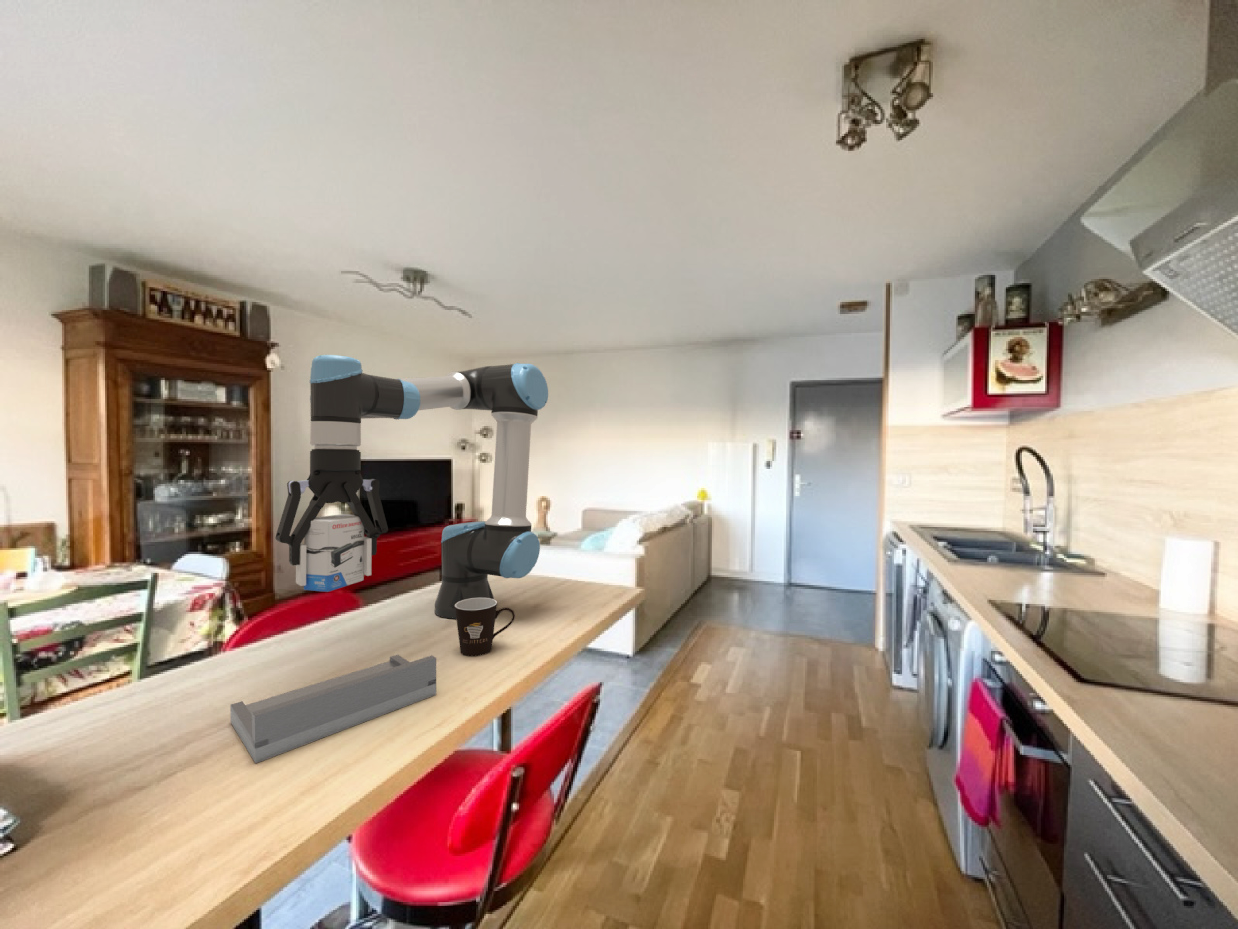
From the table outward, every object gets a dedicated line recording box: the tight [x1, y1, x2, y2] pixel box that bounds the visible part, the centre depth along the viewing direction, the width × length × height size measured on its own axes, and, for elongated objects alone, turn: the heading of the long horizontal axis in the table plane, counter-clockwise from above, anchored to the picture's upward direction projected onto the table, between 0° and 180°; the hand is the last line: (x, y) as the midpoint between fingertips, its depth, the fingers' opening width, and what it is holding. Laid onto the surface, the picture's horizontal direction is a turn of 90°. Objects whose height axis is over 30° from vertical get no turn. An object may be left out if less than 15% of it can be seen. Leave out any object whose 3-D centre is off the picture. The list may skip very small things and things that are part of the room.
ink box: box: [303, 513, 365, 593], centre depth 85 cm, size 8×5×12 cm, turn 168°
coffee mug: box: [455, 598, 516, 657], centre depth 106 cm, size 12×9×10 cm
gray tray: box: [229, 654, 437, 764], centre depth 82 cm, size 26×15×6 cm, turn 138°
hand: (334, 578), depth 85 cm, fingers closed on ink box, 9 cm apart
